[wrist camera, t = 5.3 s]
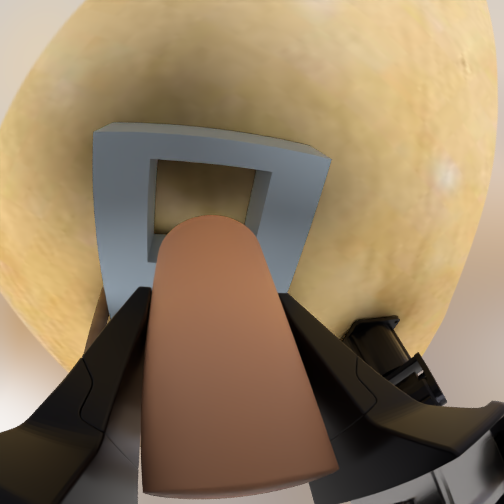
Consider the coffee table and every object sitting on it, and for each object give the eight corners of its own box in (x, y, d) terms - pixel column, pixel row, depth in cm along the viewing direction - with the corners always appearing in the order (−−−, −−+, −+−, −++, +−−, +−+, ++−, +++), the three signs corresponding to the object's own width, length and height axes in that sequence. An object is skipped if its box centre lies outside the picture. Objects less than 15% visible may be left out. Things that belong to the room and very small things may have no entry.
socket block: (309, 145, 15) (331, 159, 12) (261, 308, 22) (270, 337, 19) (112, 122, 12) (93, 131, 10) (120, 302, 19) (113, 331, 16)
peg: (272, 220, 10) (378, 449, 3) (250, 302, 12) (299, 486, 5) (158, 210, 9) (122, 482, 2) (158, 297, 11) (155, 498, 4)
